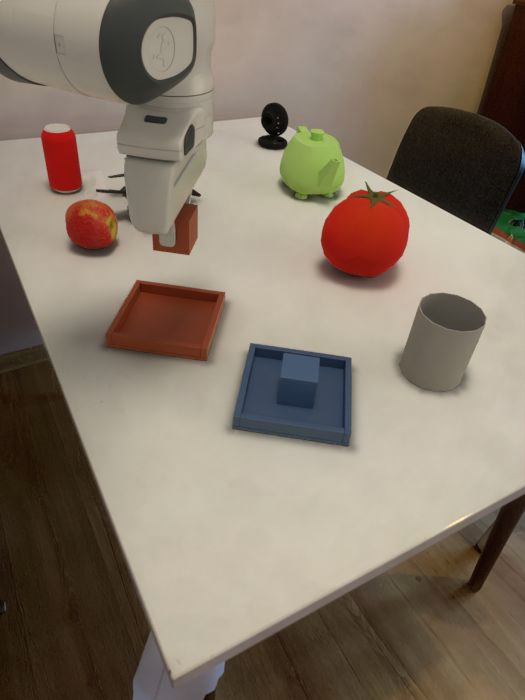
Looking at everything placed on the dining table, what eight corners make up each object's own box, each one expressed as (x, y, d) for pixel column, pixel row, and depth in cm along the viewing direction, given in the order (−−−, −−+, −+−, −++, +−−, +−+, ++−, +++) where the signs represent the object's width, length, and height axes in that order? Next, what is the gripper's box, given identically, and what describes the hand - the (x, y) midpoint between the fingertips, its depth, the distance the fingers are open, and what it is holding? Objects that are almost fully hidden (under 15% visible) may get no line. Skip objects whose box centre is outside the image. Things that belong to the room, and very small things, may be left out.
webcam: (251, 143, 136) (254, 101, 130) (269, 137, 141) (273, 96, 134) (274, 152, 132) (279, 109, 126) (293, 145, 137) (298, 104, 131)
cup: (387, 358, 75) (405, 299, 69) (432, 344, 78) (453, 287, 72) (427, 398, 69) (451, 338, 63) (473, 382, 73) (501, 323, 66)
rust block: (152, 250, 65) (150, 216, 62) (163, 233, 68) (161, 199, 66) (189, 255, 65) (189, 221, 62) (197, 237, 68) (197, 204, 65)
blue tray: (232, 428, 63) (233, 416, 62) (249, 354, 73) (250, 342, 72) (348, 446, 62) (351, 434, 61) (348, 369, 73) (351, 357, 71)
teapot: (356, 208, 112) (369, 147, 104) (296, 212, 108) (305, 149, 100) (320, 170, 126) (329, 114, 118) (266, 173, 122) (271, 115, 114)
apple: (106, 261, 88) (101, 216, 83) (58, 253, 89) (50, 208, 84) (125, 239, 94) (121, 196, 89) (80, 231, 95) (74, 188, 90)
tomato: (374, 245, 100) (391, 173, 91) (416, 284, 91) (440, 209, 82) (298, 255, 95) (309, 180, 86) (335, 299, 85) (351, 219, 77)
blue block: (276, 403, 66) (280, 376, 63) (279, 379, 69) (283, 352, 66) (312, 409, 66) (318, 382, 63) (314, 384, 69) (319, 357, 66)
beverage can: (76, 197, 105) (66, 134, 97) (45, 193, 105) (33, 130, 98) (87, 184, 110) (79, 124, 102) (57, 180, 110) (47, 120, 102)
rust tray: (106, 346, 72) (105, 334, 71) (137, 291, 83) (136, 279, 81) (206, 361, 72) (206, 349, 70) (224, 303, 82) (225, 292, 81)
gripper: (168, 85, 65) (171, 193, 74) (109, 142, 49) (122, 271, 58) (220, 91, 64) (217, 200, 73) (176, 151, 49) (179, 279, 58)
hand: (174, 232), depth 66 cm, fingers closed on rust block, 4 cm apart
